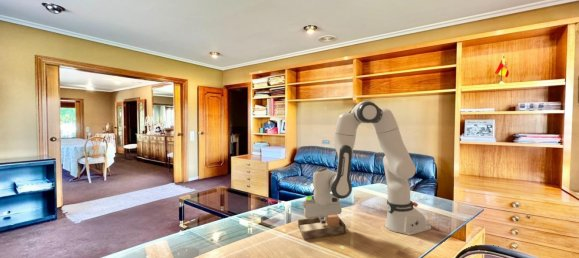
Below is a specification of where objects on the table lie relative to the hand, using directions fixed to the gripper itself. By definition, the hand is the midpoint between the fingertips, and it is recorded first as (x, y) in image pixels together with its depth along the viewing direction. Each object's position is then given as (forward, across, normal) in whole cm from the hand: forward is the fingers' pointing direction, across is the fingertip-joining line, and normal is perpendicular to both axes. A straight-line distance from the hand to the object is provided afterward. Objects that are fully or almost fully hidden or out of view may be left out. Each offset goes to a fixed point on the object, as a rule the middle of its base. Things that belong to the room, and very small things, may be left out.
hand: (323, 223), depth 138 cm
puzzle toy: (+4, +1, +20) cm, 21 cm away
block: (+1, +5, 0) cm, 5 cm away
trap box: (+4, -1, 0) cm, 4 cm away
